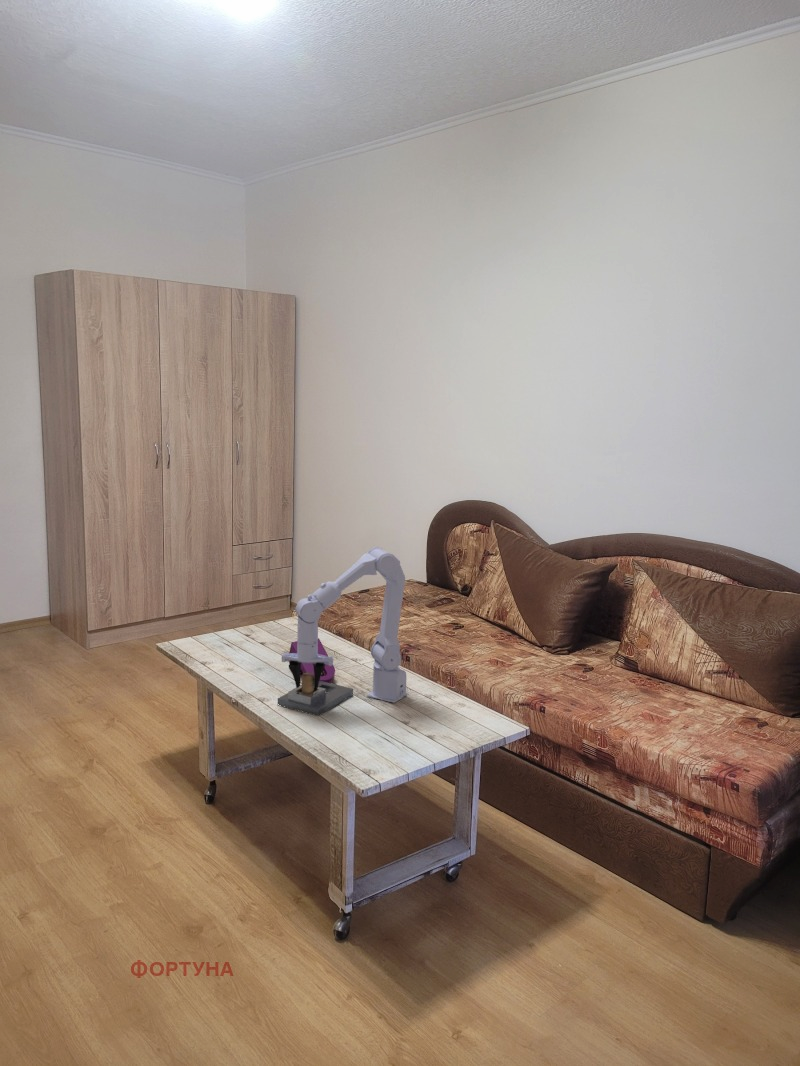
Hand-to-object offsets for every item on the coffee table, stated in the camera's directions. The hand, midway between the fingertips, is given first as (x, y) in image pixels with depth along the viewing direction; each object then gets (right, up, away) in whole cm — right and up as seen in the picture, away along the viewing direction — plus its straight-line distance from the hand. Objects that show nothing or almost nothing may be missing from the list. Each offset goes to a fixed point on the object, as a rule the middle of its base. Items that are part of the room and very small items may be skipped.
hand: (307, 687), depth 228 cm
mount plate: (+2, -5, +5) cm, 7 cm away
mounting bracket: (-1, -1, +24) cm, 24 cm away
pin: (0, -5, +1) cm, 5 cm away
